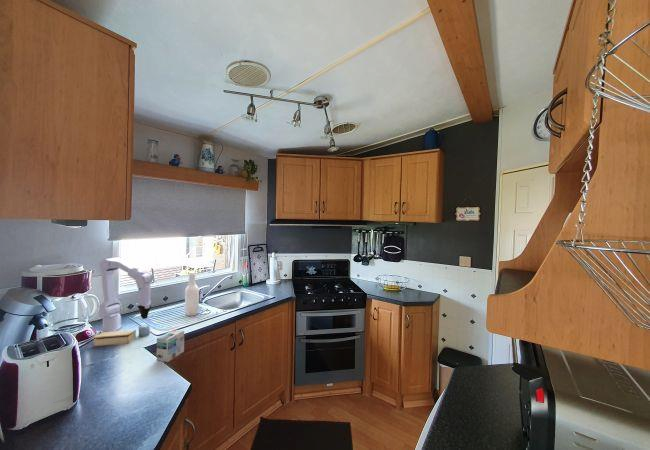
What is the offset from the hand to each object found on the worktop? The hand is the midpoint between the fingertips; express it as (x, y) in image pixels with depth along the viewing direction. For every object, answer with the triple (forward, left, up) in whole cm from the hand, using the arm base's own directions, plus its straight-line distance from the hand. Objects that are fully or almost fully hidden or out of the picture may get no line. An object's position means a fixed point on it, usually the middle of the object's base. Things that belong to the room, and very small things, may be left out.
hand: (144, 317), depth 147 cm
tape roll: (0, 0, -10) cm, 10 cm away
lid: (+6, -12, -6) cm, 14 cm away
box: (+6, -12, -10) cm, 16 cm away
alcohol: (-31, +17, -10) cm, 37 cm away
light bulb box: (+29, +23, -10) cm, 39 cm away
